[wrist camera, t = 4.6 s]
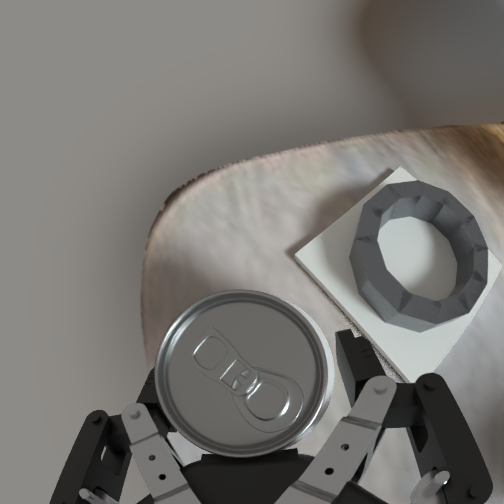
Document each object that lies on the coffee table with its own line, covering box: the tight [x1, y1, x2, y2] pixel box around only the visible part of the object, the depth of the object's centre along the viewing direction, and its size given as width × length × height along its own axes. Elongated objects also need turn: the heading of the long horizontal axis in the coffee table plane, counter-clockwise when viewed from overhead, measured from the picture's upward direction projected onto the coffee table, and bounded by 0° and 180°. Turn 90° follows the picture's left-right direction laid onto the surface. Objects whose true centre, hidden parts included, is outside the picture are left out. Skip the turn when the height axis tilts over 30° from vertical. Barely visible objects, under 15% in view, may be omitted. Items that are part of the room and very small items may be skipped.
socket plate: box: [295, 167, 502, 383], centre depth 20 cm, size 14×14×1 cm
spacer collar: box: [349, 180, 488, 333], centre depth 18 cm, size 11×11×3 cm
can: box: [155, 290, 334, 458], centre depth 13 cm, size 6×6×12 cm
